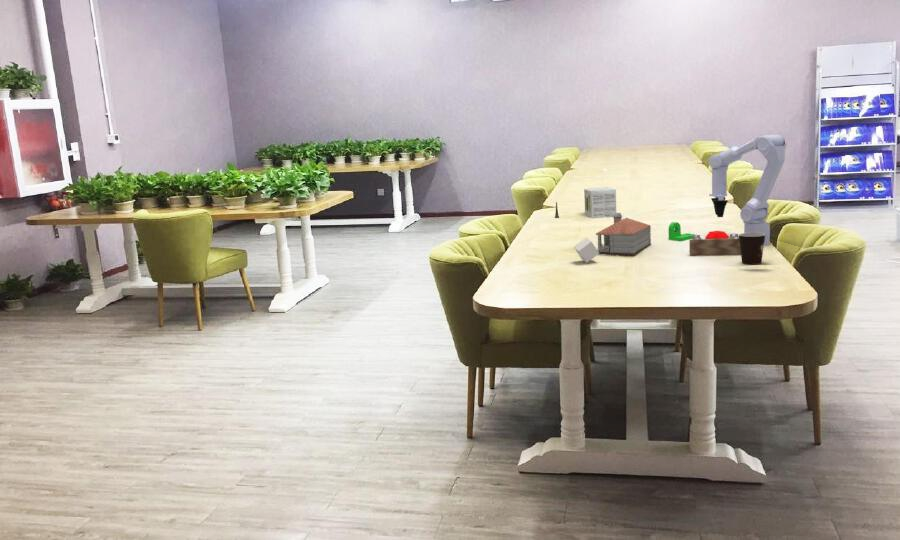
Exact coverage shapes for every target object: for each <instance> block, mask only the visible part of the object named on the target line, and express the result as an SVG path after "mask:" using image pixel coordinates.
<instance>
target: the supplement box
mask: <svg viewBox="0 0 900 540" xmlns="http://www.w3.org/2000/svg"><path fill="white" fill-rule="evenodd" d="M583 190H584V191H583V194H584V215H585V216H586V217H588V218H591V219H600V218H601V219H602V218H604V217H606V218H613V216H614V214H615V213H617V189H616V188H613V187H608V186H607V187H594V188H584V189H583ZM604 219H605V218H604Z"/></svg>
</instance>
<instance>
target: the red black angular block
mask: <svg viewBox="0 0 900 540" xmlns="http://www.w3.org/2000/svg"><path fill="white" fill-rule="evenodd" d="M729 238H730V235H728V234H727V232H725V231H724V230H712V231H709V232H708V233H707V234H706V236H705V237H704V239H729Z"/></svg>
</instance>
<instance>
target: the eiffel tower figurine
mask: <svg viewBox="0 0 900 540" xmlns="http://www.w3.org/2000/svg"><path fill="white" fill-rule="evenodd" d="M559 215H560V214H559V210H558V202H557V201H556V202H555V215H554V219H560V216H559Z"/></svg>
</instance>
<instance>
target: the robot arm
mask: <svg viewBox="0 0 900 540" xmlns="http://www.w3.org/2000/svg"><path fill="white" fill-rule="evenodd" d="M787 146H788V143H787V141H786V138H785V136H784V135H782V134H780V133H776V134H768V135H766V134H765V135H761V136H758V137H755V138H754V139H751V140H749V141H748V142H747V143H744V144H743V145H741V146H738V145H737V146H736V145H735V146H733V145H731V146H728V149H726V150H721V151H720V152H719V154H715V153H714V154H712V155H711V156H710V157H709V160H708V164H709V166H710V168H711V193H709V194H708V196H709V197H713V198H710V200H711V202H712V203H713V207H714V213H715V215H716V217H717V218H723V217H724V213H725V209H726V206H727V203H728V202H729V201H728V200H726V197H727V196H728V192H727V191H728V190H727V187H728V186H727V183H728V181H727V178H728V176H727V175H728V174H727V171H728V170H729V169H728V167H729V166H730V165H731V164H733V163H735V162H737V161H740V160H741V159H742V158H743V155H746V154H748V153H751V152H752V151H755V150H758V152H759V153H760V154H761V155H762V156H763V157H764V159H765V160H766V161H767V163H766V165H765V168H764V170H763V172H762V174H761V177H760V180H759V182H758V184H757V187H756V189H755V191H754V194H753V196H752V197H751V198H750V199H749V200H748V201H747V202H746V203H745V206H743V207H742V208H741V210H740V213H739V214H740V219H741V220H742V222H743V225H744V226H743V229H744V231H743V233H763V234H765V241H764V246H765V245H766V246H769V245H770V243H771V242H770V241H771V240H770V239H771V238H770V237H771V226H770V222H769V221H765V220H766V218H767V217H768V214H769V207H770V204H769V203H768V199H769V197H770V195H771V192H772V190H773V188H774V186H775V184H776V181H777V179H778V177H779V174H780V172H781V170H782V168H783V165H784V163H785V156H786V153H785V152H786V151H785V150H786V148H787Z"/></svg>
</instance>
